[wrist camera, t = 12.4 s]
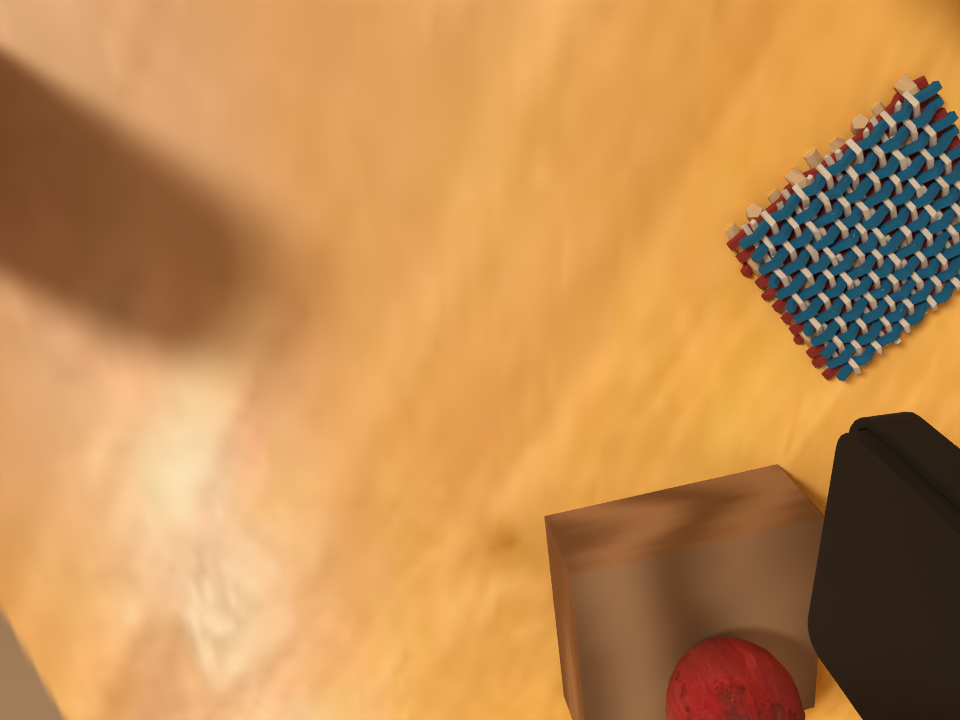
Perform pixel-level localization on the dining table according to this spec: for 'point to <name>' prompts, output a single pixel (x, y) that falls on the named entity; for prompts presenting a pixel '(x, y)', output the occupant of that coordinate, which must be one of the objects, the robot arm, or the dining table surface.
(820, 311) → the woven mat
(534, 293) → the dining table surface
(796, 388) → the dining table surface
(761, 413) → the dining table surface
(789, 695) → the onion
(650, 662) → the walnut block
